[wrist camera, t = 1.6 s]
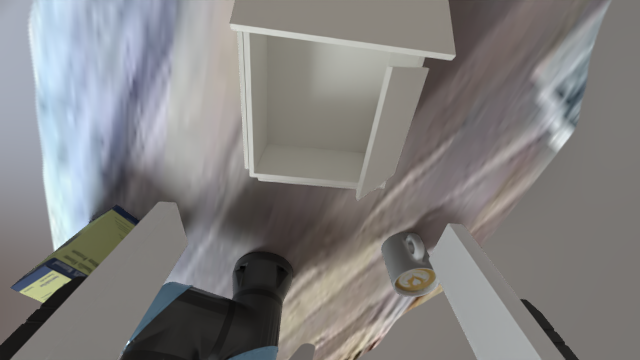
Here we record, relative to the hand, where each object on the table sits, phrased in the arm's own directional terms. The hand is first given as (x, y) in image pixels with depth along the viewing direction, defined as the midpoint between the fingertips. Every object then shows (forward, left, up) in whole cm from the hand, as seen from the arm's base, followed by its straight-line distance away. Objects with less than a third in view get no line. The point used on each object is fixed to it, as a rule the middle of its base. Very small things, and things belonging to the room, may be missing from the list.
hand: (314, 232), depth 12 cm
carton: (+3, -2, -31) cm, 31 cm away
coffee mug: (-31, -26, -31) cm, 51 cm away
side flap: (+1, -11, -18) cm, 22 cm away
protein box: (-35, +38, -32) cm, 61 cm away
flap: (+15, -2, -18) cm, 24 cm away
